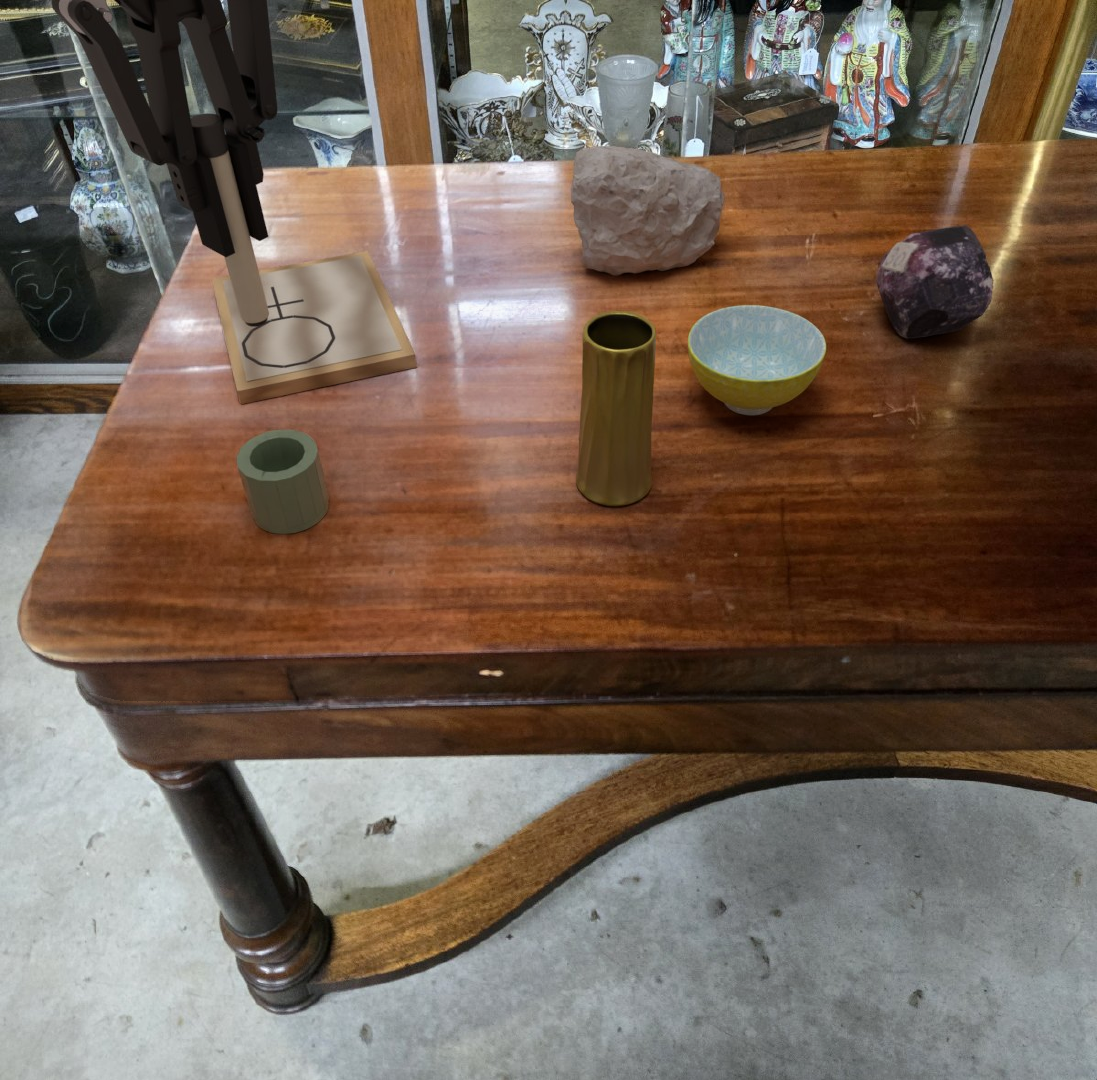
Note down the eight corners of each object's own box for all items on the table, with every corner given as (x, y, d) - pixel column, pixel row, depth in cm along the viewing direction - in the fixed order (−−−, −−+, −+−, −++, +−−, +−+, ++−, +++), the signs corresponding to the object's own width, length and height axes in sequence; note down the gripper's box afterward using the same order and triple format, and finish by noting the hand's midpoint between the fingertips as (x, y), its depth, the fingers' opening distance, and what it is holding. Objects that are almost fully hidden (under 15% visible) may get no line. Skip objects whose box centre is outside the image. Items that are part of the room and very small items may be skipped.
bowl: (661, 378, 93) (665, 318, 89) (775, 352, 96) (784, 293, 92) (717, 453, 86) (724, 392, 81) (839, 423, 88) (853, 362, 84)
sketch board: (240, 404, 91) (236, 389, 90) (215, 292, 105) (211, 277, 104) (417, 367, 95) (415, 352, 94) (370, 263, 109) (368, 248, 107)
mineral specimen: (875, 265, 103) (939, 185, 95) (960, 329, 102) (1031, 253, 94) (840, 309, 97) (905, 227, 89) (930, 377, 96) (1003, 300, 88)
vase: (603, 448, 86) (607, 298, 76) (666, 475, 84) (679, 324, 74) (561, 488, 83) (559, 336, 73) (625, 518, 80) (633, 365, 70)
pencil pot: (258, 542, 79) (241, 488, 75) (247, 492, 83) (231, 439, 79) (335, 523, 80) (324, 469, 77) (321, 475, 84) (309, 422, 81)
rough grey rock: (714, 209, 112) (682, 77, 101) (752, 249, 105) (721, 113, 94) (579, 275, 112) (533, 151, 101) (608, 319, 105) (562, 192, 95)
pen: (243, 331, 74) (188, 129, 64) (240, 315, 75) (185, 115, 65) (273, 325, 74) (222, 123, 64) (269, 310, 76) (219, 110, 66)
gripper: (28, -132, 48) (172, 307, 65) (287, -191, 56) (356, 215, 73) (-48, -154, 52) (107, 267, 68) (205, -206, 59) (289, 183, 76)
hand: (235, 240), depth 70 cm, fingers closed on pen, 2 cm apart
